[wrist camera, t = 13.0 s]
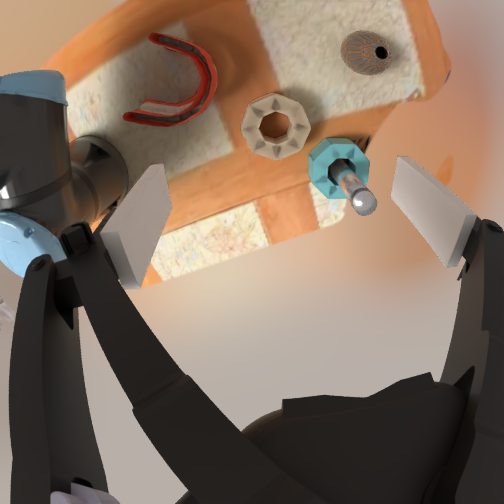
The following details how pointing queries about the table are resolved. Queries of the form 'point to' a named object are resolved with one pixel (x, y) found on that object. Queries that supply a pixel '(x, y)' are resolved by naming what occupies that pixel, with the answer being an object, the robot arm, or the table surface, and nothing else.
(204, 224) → the table surface
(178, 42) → the toy
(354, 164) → the bead teal
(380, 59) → the vase
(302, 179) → the table surface
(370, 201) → the capped vial
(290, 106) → the bead birch
